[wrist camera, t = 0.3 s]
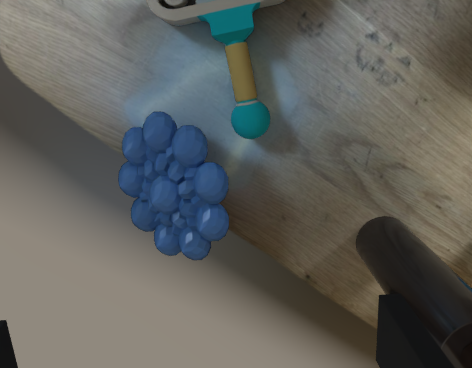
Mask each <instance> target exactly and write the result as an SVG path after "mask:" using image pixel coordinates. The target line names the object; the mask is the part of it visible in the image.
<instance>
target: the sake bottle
mask: <svg viewBox="0 0 472 368" xmlns="http://www.w3.org/2000/svg"><path fill="white" fill-rule="evenodd" d="M356 248H357V252H358V254H359V256H360V257H361V259H362V260H363V261H364V263H365V264H366V266H367V267H368V269H369V270H370V272H371V273H372V275H373V276H374V278H375V279H376V281H377V282H378V284H379V285H380V286H381V288H382V289H383V291H384V292H385V294H401V295H402V296H403V298H404V299H405V300H406V302H407V303H408V304H409V306H410V307H411V308H412V310H413V311H414V313H415V314H416V315H417V317H418V318H419V319H420V321H421V322H422V323H423V325H424V326H425V328H426V329H427V330H428V332H429V333H430V334H431V336H432V337H433V338H434V340H435V341H436V343H437V344H438V345H439V347H440V348H441V349H442V351H443V352H444V353H445V355H446V356H447V358H448V359H449V360H450V362H451V363H452V364H453V366H454V367H455V368H472V288H471V287H470V286H469V285H468V284H467V283H466V282H465V281H464V280H463V279H462V278H461V277H460V276H458V275H457V274H456V273H455V272H454V271H453V270H452V269H451V268H450V267H449V266H448V265H447V264H446V263H445V262H444V261H443V260H441V259H440V258H439V257H438V256H437V255H436V254H435V253H434V252H433V251H432V250H431V249H430V248H429V247H428V246H427V245H426V244H425V243H423V242H422V241H421V240H420V239H419V238H418V237H417V236H416V235H415V234H414V233H413V232H412V231H411V230H410V229H409V228H408V227H406V226H405V225H404V224H403V223H402V222H401V221H400V220H398V219H396V218H393V217H387V216H383V217H378V218H375V219H372V220H370V221H369V222H367V223H366V224H365V225H364V226H363V227H362V228H361V230H360V231H359V233H358V236H357V239H356Z"/></svg>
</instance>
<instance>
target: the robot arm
mask: <svg viewBox="0 0 472 368" xmlns="http://www.w3.org/2000/svg"><path fill="white" fill-rule="evenodd" d="M376 361H377V363H378V365H379V367H380V368H455V367H454V366H453V364H452V363H451V362H450V360H449V359H448V358H447V356H446V355H445V353H444V352H443V351H442V349H441V348H440V347H439V345H438V344H437V343H436V341H435V340H434V338H433V337H432V336H431V334H430V333H429V332H428V330H427V329H426V328H425V326H424V325H423V323H422V322H421V321H420V319H419V318H418V317H417V315H416V314H415V313H414V311H413V310H412V308H411V307H410V306H409V304H408V303H407V302H406V300H405V299H404V298H403V296H402V295H401V294H386V295H379V307H378V328H377V350H376ZM0 368H18V366H17V362H16V358H15V354H14V350H13V346H12V342H11V338H10V334H9V330H8V326H7V322H6V320H1V321H0Z"/></svg>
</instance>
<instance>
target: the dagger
mask: <svg viewBox="0 0 472 368" xmlns="http://www.w3.org/2000/svg"><path fill="white" fill-rule="evenodd" d="M188 1H189V0H165V2H166V3H167V4H168V5H169V6H171V7H173V8H178V9H167V8H164V6H163V4H162V1H161V0H146V2H147V4H148V6H149V8H150V10H151V11H152V12H153V13H154V14H155V15H156V16H158V17H159V18H161V19H162V20H164V21H165V22H167V23H169V24H172V25H177V26H182V25H187V24H191V23H196V22H200V21H206V22H208V23H209V24H210V28H211V33H212V36H213V38H214V39H215V40H217V41H220V42H222V43H224V44H225V45H226V46H225V51H226V56H227V61H228V66H229V71H230V76H231V80H232V85H233V90H234V95H235V100H236V102H237V105H236V107H235V108H234V110H233V112H232V115H231V123H232V127H233V129H234V130H235V132H236V133H237V134H238V135H240V136H241V137H243V138H247V139H255V138H258V137H260V136H261V135H263V134H264V133H265V132H266V131H267V129H268V127H269V124H270V114H269V111H268V109H267V107H266V106H265V105H264V104H263V103H261V102H260V101H258V100H257V91H256V86H255V81H254V76H253V71H252V65H251V60H250V55H249V50H248V45H247V42H246V41H245V40H246V38H247V37H248V36H249V35H250V34H251V33H252V32H253V30H254V23H253V18H252V14H253V12H254V11H255V10H256V9H259V8H263V7H267V6H272V5H276V4H280V3H282V2H284V1H285V0H196V4H195V5H191V6H186V7H183V6H185V5H186V4H187V2H188ZM181 7H182V8H181Z"/></svg>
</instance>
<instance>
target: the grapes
mask: <svg viewBox="0 0 472 368" xmlns="http://www.w3.org/2000/svg"><path fill="white" fill-rule="evenodd" d="M122 150H123V154H124V156H125V158H126V159H127V160H128V161H127V162H126V163H124V164H123V165H122V166H121V169H120V171H119V178H118V181H119V186H120V188H121V189H122V190H123V192H125V193H126V194H127V195H129V196H131V197H134V198H135V197H138V198H137V199H136V200H135V201H134V203H133V205H132V208H131V218H132V222H133V224H134V225H135V226H136V227H138V228H139V229H141V230H143V231H146V232H148V231H154V230H155V232H154V241H155V245H156V247H157V249H158V250H159V251H160V252H161V253H163V254H166V255H169V256H172V255H177V254H178V253H179V252H181V251H182V253H183V254H184V255H185V256H186V257H187V258H190V259H192V260H202V259H203V258H204V257H206V256H207V255H208V253H209V251H210V248H211V241H219V240H220V239H222V237H224V236H225V235H226V233H227V231H228V228H229V216H228V214H227V211H226V210H225V208H224V207H223V206H222V205H220V204H218V203H220V202H221V201H222V200H223V199H225V197H226V194H227V192H228V176H227V174H226V172H225V171H224V169H223V168H222V166H220V165H218V164H216V163H214V162H204V161H205V158H206V156H207V140H206V138H205V135H204V134H203V133H202V131H201V130H200V129H199V128H197V127H195V126H193V125H186V126H181V127H180V128H179V129H178V130H177V126H176V124H175V122H174V120H173V119H172V118H171V116H170V115H168V114H166V113H164V112H153V113H152V114H150V115H149V116H148V117H147V118H146V120H145V123H144V125H143V128H141V127H134V128H131V129H130V130H128V131H127V132H126V133H125V136H124V138H123V141H122Z"/></svg>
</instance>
